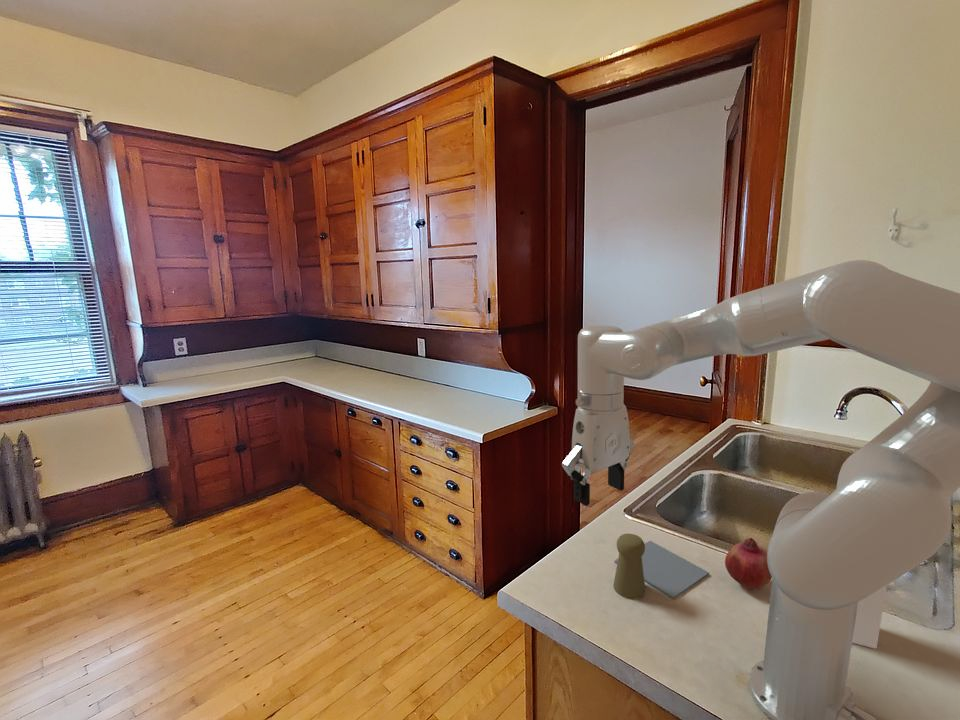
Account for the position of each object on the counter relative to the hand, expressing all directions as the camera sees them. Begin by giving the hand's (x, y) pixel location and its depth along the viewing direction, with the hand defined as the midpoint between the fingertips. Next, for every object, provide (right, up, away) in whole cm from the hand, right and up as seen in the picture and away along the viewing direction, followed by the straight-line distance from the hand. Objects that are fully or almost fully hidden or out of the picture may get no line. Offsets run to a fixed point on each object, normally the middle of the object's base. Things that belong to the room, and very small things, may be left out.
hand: (599, 494), depth 83 cm
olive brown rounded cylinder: (+8, -21, +9) cm, 25 cm away
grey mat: (+17, -20, +15) cm, 30 cm away
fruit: (+31, -21, +9) cm, 39 cm away
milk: (+42, -23, -3) cm, 48 cm away
